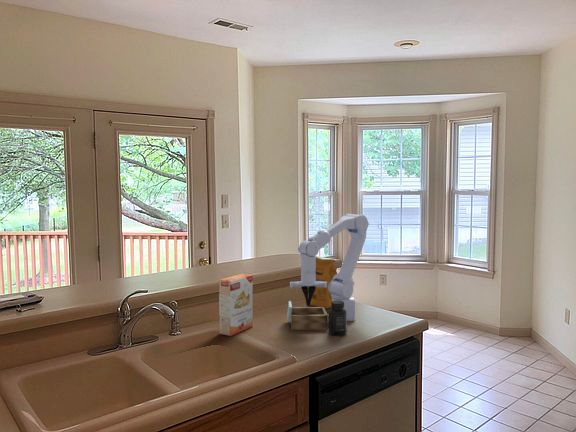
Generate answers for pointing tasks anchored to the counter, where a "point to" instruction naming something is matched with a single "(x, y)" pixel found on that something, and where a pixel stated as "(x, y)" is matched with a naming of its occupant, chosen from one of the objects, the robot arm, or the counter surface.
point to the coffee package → (324, 274)
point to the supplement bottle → (337, 319)
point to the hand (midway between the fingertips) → (308, 305)
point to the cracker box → (235, 304)
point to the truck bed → (309, 318)
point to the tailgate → (289, 311)
